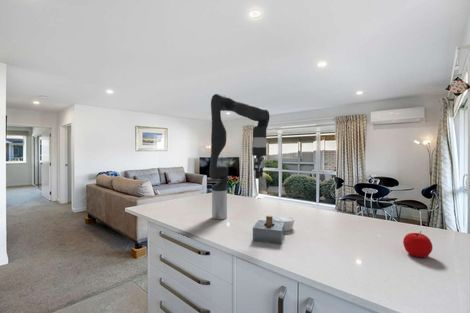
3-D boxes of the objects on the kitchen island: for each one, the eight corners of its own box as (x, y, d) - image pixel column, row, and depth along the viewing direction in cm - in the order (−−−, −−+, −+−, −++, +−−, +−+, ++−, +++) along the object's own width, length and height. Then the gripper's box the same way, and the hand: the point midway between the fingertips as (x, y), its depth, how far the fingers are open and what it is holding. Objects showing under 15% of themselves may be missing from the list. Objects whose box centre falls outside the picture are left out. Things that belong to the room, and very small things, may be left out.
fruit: (423, 262, 86) (424, 235, 85) (398, 252, 94) (398, 228, 94) (437, 258, 89) (438, 232, 89) (412, 249, 98) (412, 225, 97)
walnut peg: (266, 235, 113) (266, 215, 112) (272, 236, 112) (272, 215, 112) (265, 238, 110) (265, 217, 110) (271, 238, 109) (272, 217, 109)
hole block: (258, 231, 119) (258, 219, 119) (284, 234, 115) (284, 222, 115) (252, 240, 106) (252, 227, 106) (281, 244, 102) (281, 230, 102)
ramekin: (268, 228, 124) (268, 218, 124) (279, 223, 132) (280, 214, 132) (287, 233, 116) (287, 223, 116) (297, 228, 125) (298, 218, 124)
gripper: (255, 146, 128) (255, 175, 129) (249, 146, 115) (248, 179, 115) (268, 146, 126) (268, 176, 126) (264, 146, 112) (263, 179, 113)
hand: (259, 177), depth 121 cm, fingers open, 8 cm apart
